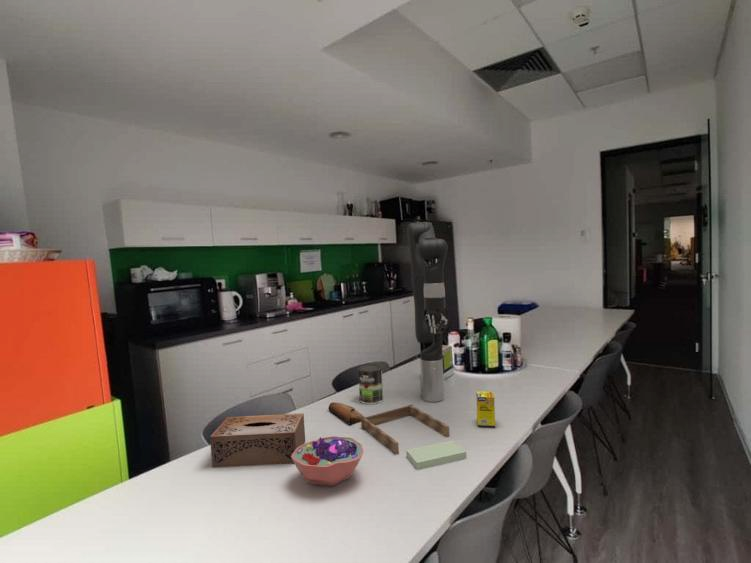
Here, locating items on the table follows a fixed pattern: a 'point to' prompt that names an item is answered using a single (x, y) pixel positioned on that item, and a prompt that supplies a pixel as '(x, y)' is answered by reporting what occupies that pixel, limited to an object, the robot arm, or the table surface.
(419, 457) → the cover plate
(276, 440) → the tissue box cover
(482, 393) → the supplement box
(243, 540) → the table surface
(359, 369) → the coffee can
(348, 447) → the cell model
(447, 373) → the tea box
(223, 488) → the table surface
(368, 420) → the open wooden frame
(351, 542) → the table surface
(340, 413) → the sunglasses case
